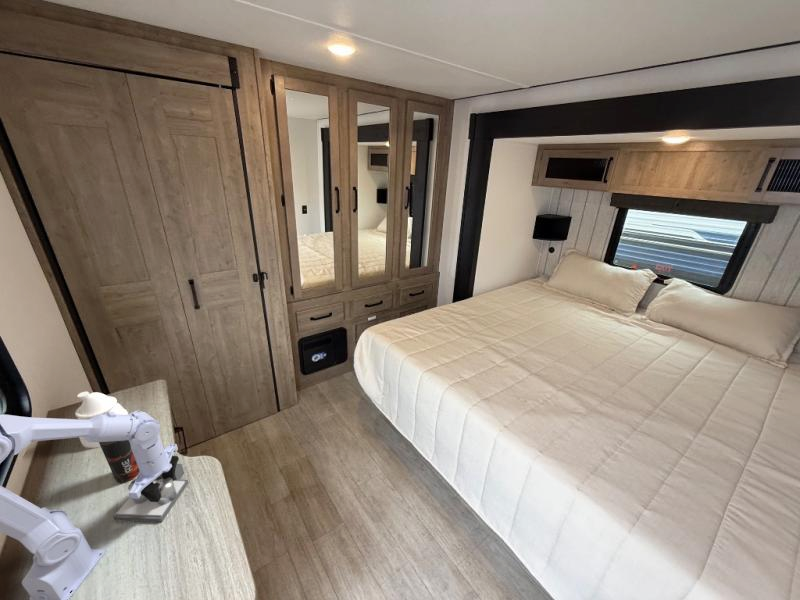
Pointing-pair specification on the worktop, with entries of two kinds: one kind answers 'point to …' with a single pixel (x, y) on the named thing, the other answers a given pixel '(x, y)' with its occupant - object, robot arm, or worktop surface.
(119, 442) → the deodorant
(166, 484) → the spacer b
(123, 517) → the scale
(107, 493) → the worktop surface
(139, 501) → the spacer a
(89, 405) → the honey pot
